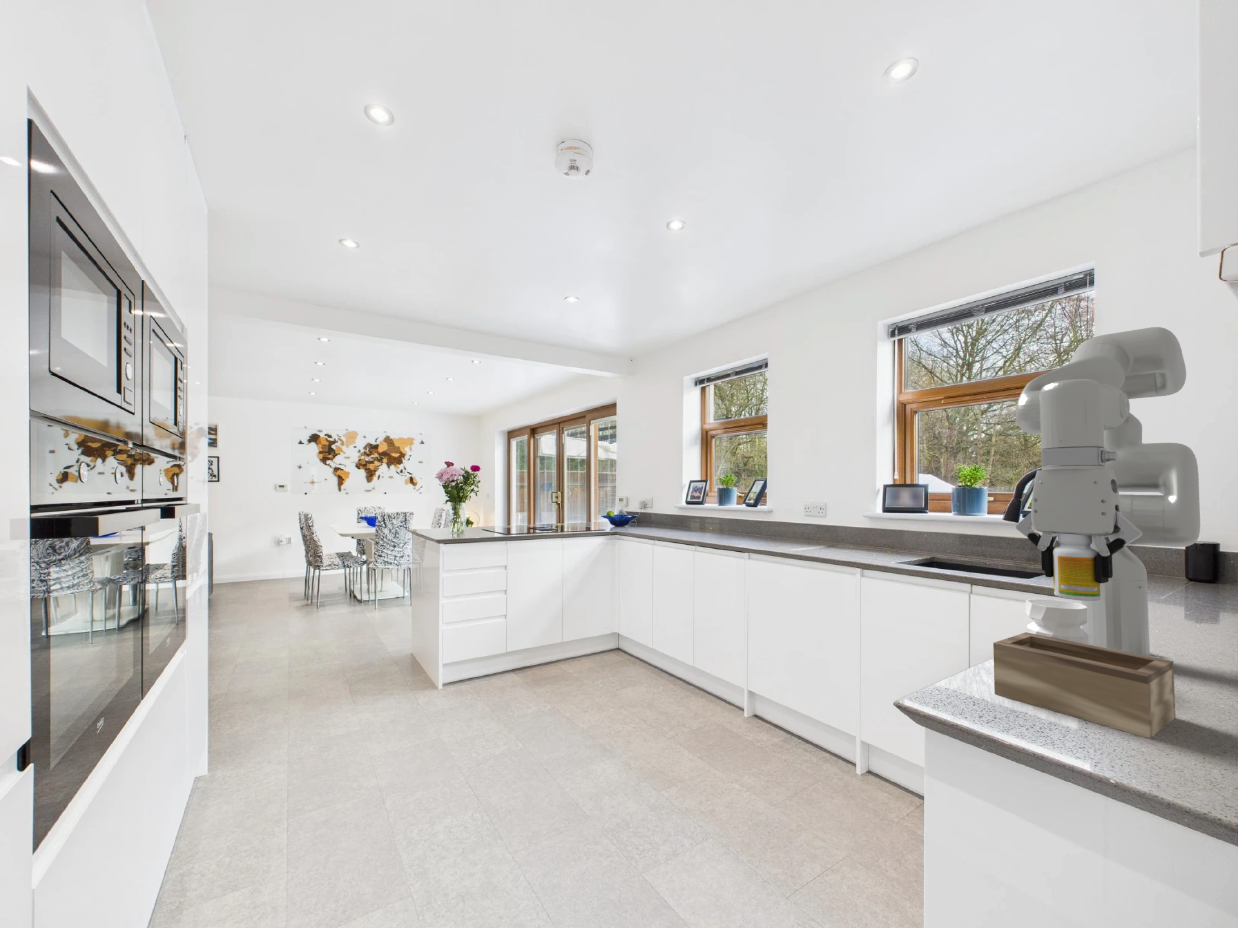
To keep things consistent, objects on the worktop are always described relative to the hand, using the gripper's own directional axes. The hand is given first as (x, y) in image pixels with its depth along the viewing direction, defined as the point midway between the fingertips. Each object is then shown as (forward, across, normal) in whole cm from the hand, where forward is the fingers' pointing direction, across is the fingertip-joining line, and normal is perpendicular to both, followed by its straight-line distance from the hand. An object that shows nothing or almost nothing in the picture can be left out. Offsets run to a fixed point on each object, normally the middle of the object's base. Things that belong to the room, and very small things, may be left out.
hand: (1076, 578), depth 82 cm
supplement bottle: (+3, 0, 0) cm, 3 cm away
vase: (+19, +8, -16) cm, 26 cm away
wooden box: (+19, 0, 0) cm, 19 cm away
